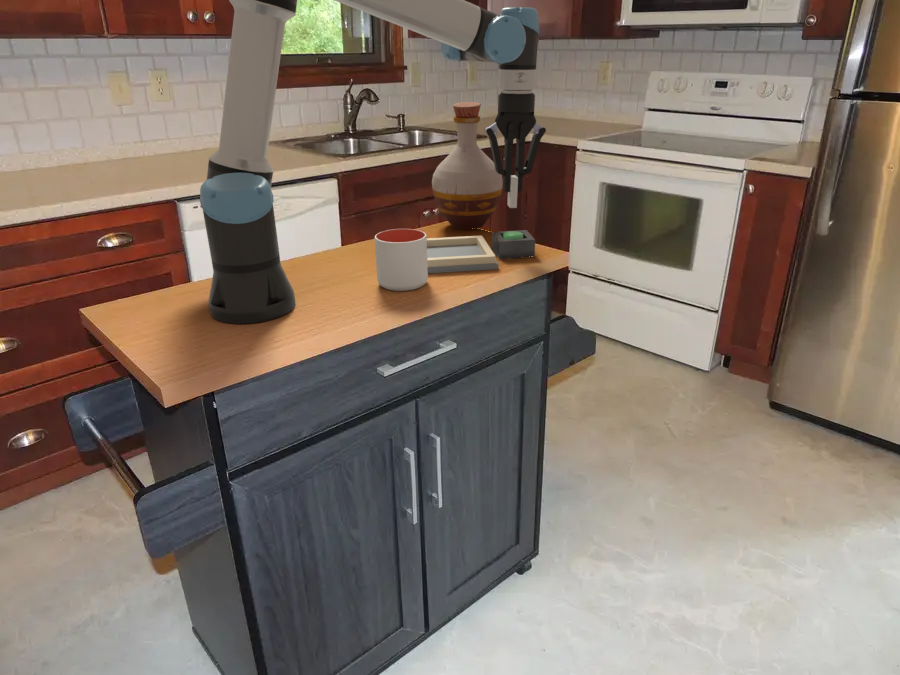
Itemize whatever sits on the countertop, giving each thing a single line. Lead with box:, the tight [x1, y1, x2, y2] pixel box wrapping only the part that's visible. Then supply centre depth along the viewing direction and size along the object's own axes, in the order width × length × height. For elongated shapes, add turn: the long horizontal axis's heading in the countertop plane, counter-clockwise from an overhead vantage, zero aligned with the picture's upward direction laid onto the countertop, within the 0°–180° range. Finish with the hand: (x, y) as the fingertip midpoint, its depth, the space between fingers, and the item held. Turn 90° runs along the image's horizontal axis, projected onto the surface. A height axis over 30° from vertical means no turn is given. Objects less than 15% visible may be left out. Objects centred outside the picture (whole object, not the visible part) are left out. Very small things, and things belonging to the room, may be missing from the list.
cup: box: [374, 228, 429, 292], centre depth 130 cm, size 10×10×10 cm
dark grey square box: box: [491, 229, 536, 260], centre depth 149 cm, size 8×8×4 cm
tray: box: [426, 235, 499, 274], centre depth 146 cm, size 17×17×3 cm
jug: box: [431, 101, 504, 230], centre depth 166 cm, size 20×18×30 cm
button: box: [503, 230, 523, 240], centre depth 148 cm, size 4×4×3 cm
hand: (512, 206), depth 145 cm, fingers closed
